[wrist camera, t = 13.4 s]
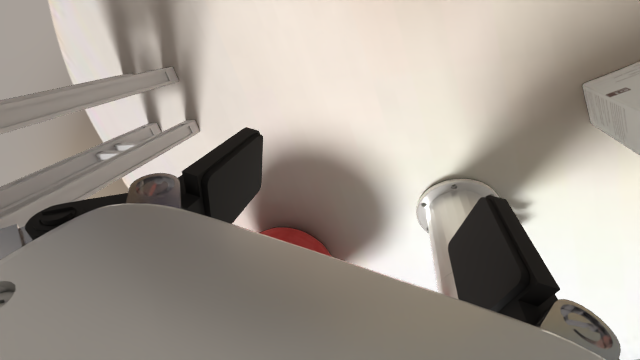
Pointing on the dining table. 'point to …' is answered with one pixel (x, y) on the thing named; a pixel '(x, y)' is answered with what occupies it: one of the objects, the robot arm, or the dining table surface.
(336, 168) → the dining table surface
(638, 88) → the skincare box
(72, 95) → the stool
